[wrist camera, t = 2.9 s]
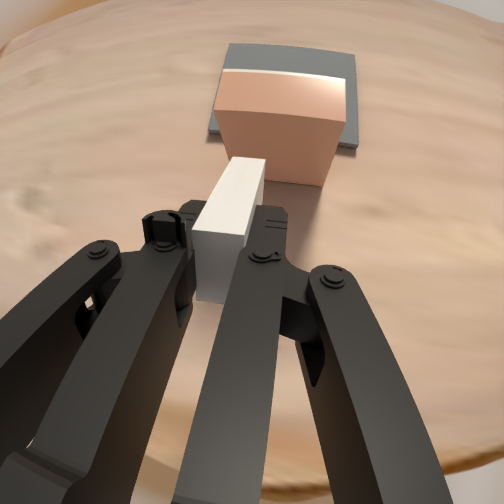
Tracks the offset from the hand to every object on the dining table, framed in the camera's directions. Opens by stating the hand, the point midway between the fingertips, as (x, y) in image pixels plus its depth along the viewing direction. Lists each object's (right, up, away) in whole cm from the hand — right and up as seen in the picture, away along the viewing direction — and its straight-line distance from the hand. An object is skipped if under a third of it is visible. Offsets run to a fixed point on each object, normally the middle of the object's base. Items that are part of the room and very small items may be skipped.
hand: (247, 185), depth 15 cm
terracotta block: (+3, +6, +17) cm, 19 cm away
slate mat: (+4, +16, +19) cm, 25 cm away
